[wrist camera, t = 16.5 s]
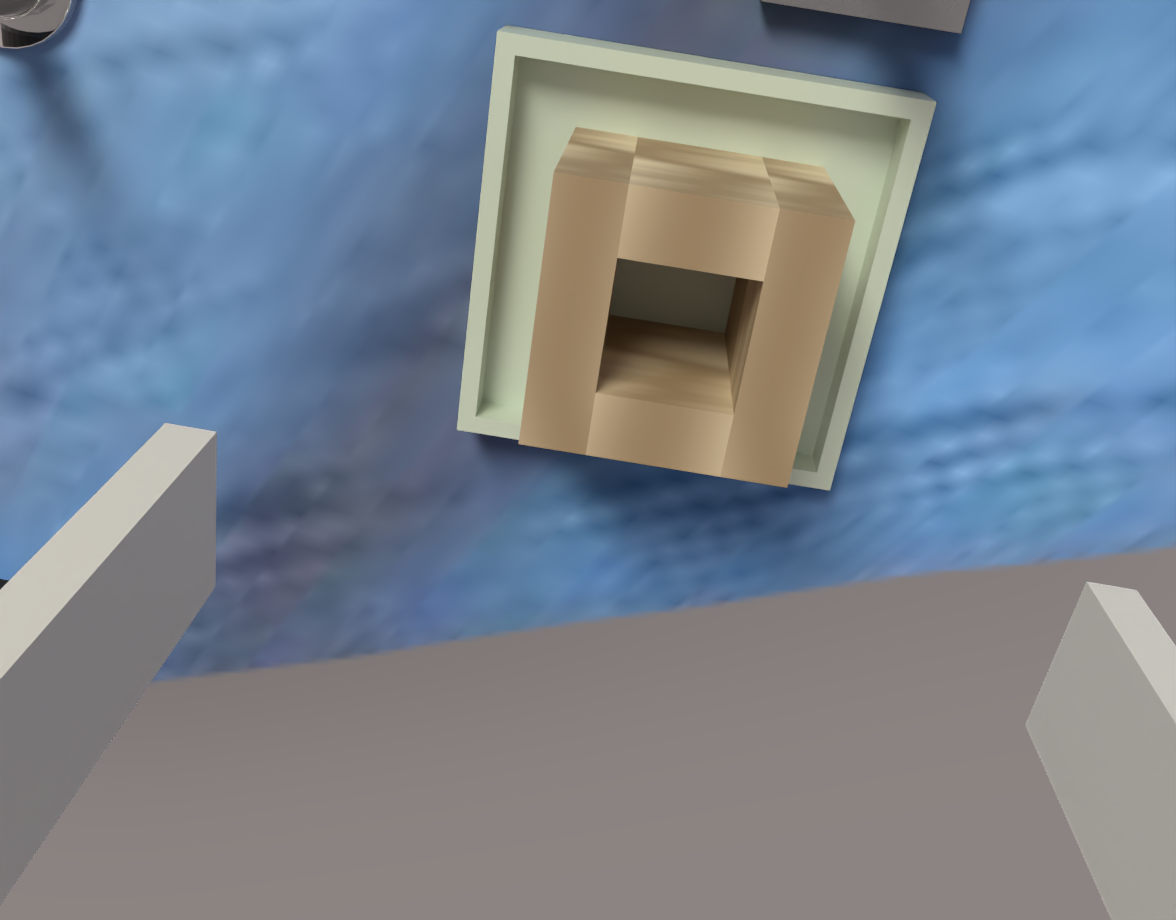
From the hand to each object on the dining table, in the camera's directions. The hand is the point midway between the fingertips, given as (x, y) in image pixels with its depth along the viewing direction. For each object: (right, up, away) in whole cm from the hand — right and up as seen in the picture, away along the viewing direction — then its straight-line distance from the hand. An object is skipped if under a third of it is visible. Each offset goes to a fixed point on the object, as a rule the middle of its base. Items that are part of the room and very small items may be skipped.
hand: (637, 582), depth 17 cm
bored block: (+2, +8, +20) cm, 22 cm away
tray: (+2, +9, +21) cm, 23 cm away
